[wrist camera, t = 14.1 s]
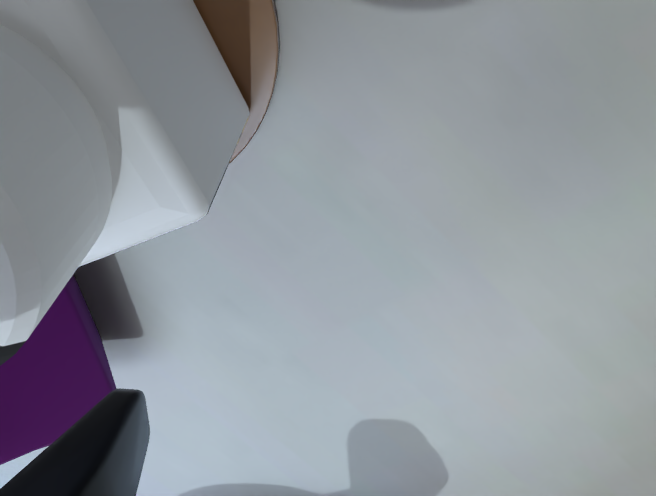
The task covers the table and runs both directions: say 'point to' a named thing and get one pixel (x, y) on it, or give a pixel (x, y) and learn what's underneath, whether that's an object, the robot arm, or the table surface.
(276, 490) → the table surface
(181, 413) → the table surface
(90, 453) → the robot arm
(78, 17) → the medicine bottle
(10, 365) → the perfume bottle
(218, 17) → the cork coaster
